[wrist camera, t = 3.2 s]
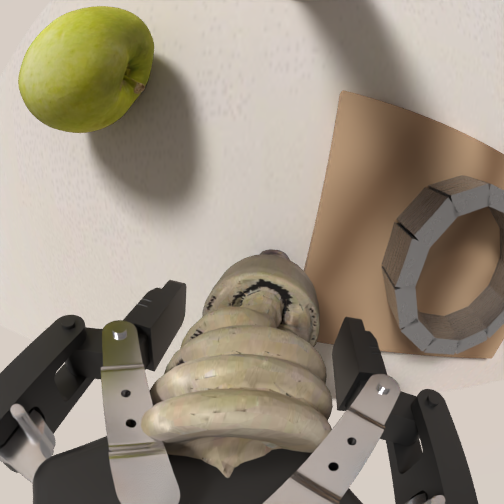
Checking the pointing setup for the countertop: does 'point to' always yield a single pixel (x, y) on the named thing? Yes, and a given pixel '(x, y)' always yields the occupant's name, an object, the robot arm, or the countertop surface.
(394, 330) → the board
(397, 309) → the ring seat
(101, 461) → the robot arm
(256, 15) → the countertop surface
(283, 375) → the light bulb
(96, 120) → the apple
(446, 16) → the countertop surface
